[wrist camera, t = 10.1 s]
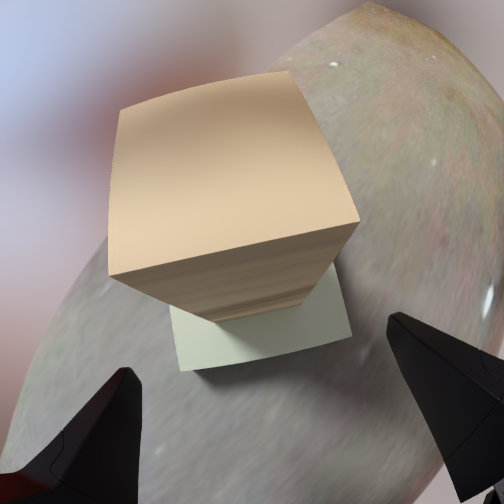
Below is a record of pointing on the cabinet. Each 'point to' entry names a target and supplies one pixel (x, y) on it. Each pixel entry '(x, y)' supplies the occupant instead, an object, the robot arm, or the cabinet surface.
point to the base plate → (263, 330)
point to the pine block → (226, 198)
